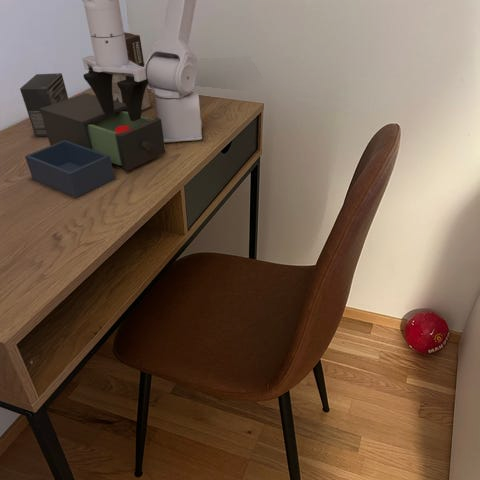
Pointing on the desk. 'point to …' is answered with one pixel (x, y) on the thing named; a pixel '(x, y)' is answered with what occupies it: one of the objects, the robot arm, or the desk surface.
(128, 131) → the drawer
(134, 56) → the coffee box
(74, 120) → the cabinet
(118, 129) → the ball
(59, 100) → the small box
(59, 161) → the box
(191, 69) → the robot arm
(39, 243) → the desk surface
